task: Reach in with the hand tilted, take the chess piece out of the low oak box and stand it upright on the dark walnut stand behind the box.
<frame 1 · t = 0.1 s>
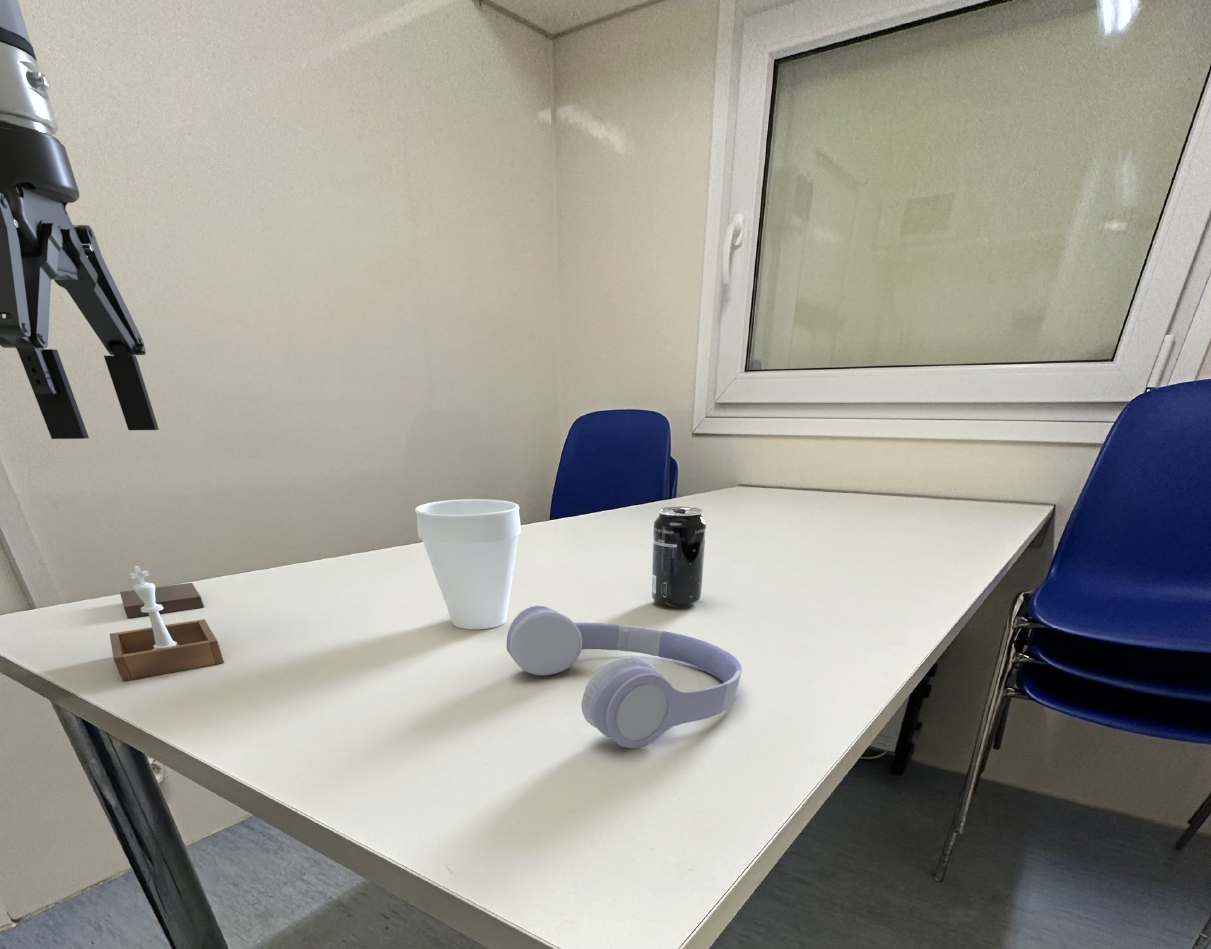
hand: (110, 434, 65), 22 cm above the table, tool pointing down, fingers open, 13 cm apart
headphones: (636, 692, 67), on the table
oak box: (170, 658, 75), on the table
cup: (479, 622, 86), on the table
beverage can: (675, 604, 93), on the table
walnut stand: (163, 604, 93), on the table
chess piece: (171, 660, 75), resting in oak box
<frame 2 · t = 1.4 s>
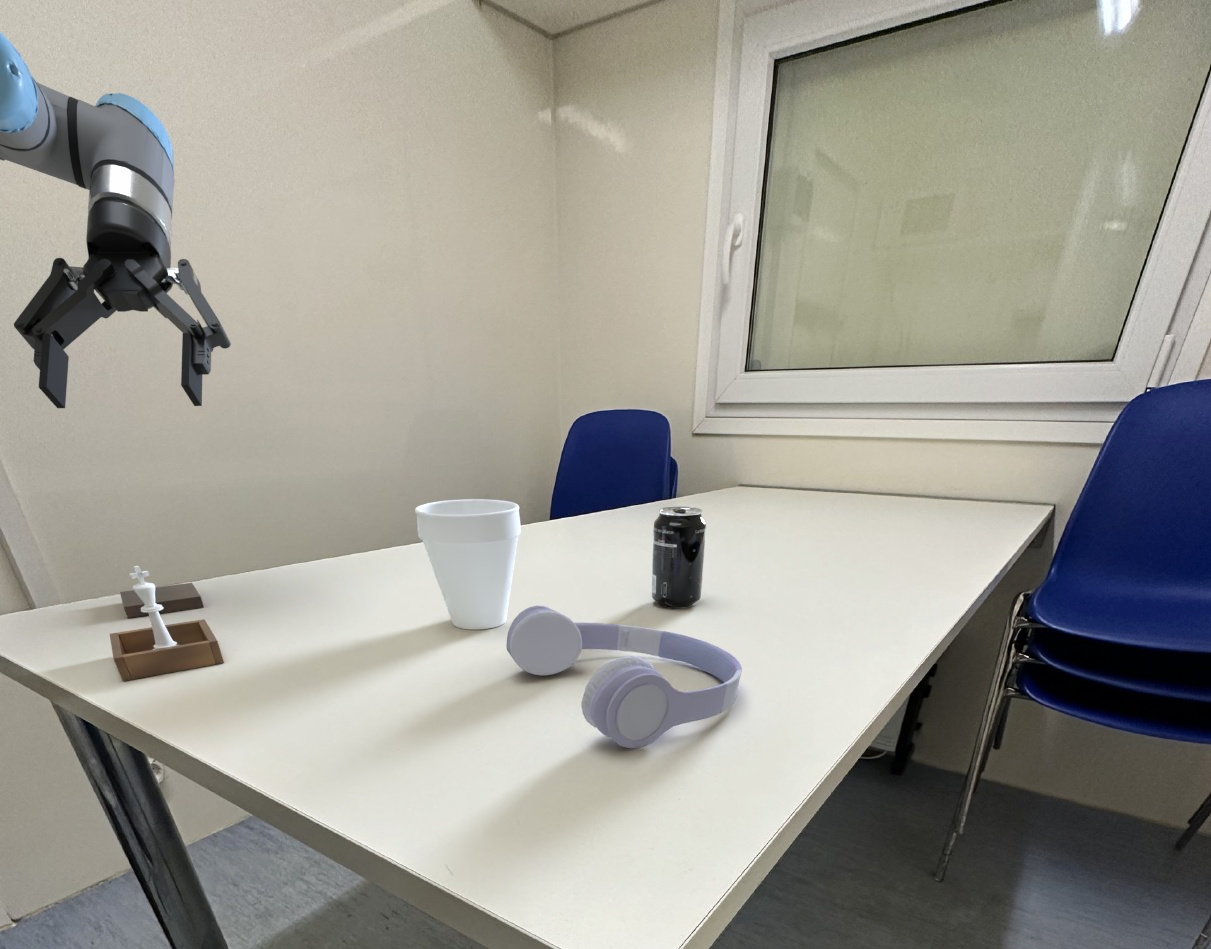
hand: (122, 397, 70), 25 cm above the table, tool tilted 45°, fingers open, 13 cm apart
nothing on the table moved.
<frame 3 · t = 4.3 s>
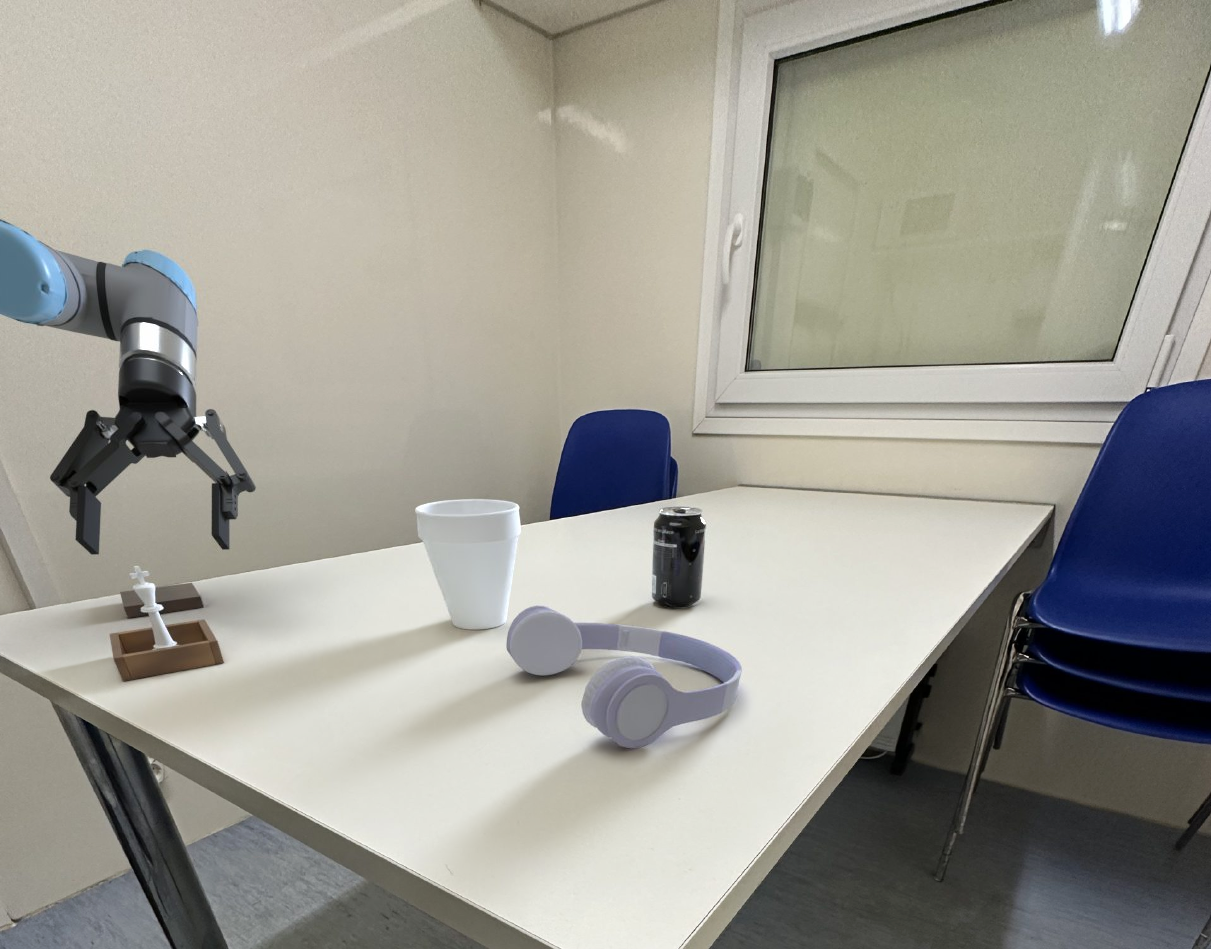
hand: (154, 545, 74), 11 cm above the table, tool tilted 45°, fingers open, 13 cm apart
nothing on the table moved.
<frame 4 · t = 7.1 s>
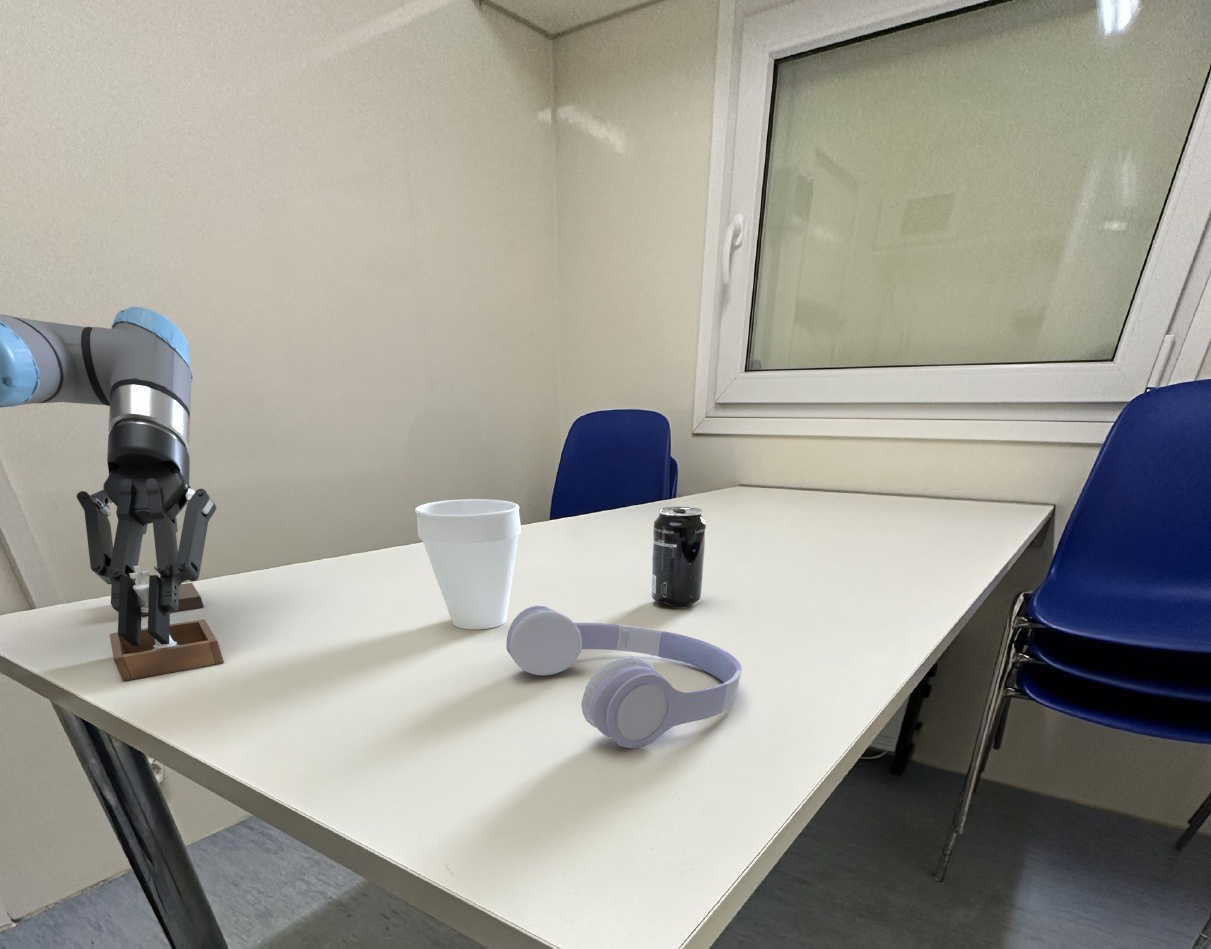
hand: (144, 638, 70), 4 cm above the table, tool tilted 45°, fingers closed on chess piece, 2 cm apart
chess piece: (171, 660, 75), resting in oak box, touching gripper
everything else where it was.
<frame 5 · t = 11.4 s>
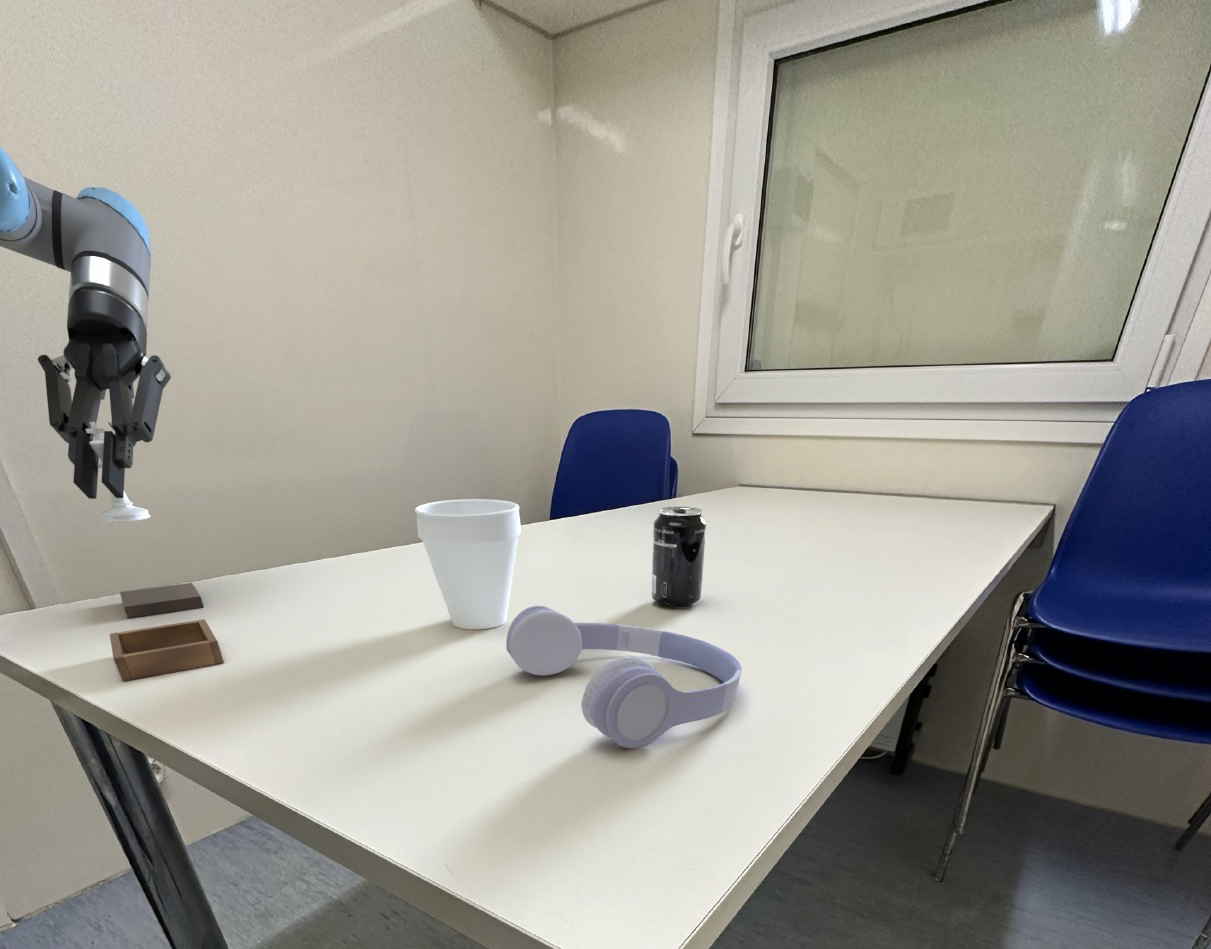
hand: (98, 489, 75), 16 cm above the table, tool tilted 45°, fingers closed on chess piece, 2 cm apart
chess piece: (127, 520, 80), point 12 cm above the table, touching gripper
everything else where it was.
when the fingers open (5 cm above the table, at t = 15.6 s): chess piece stays where it is, resting on walnut stand.
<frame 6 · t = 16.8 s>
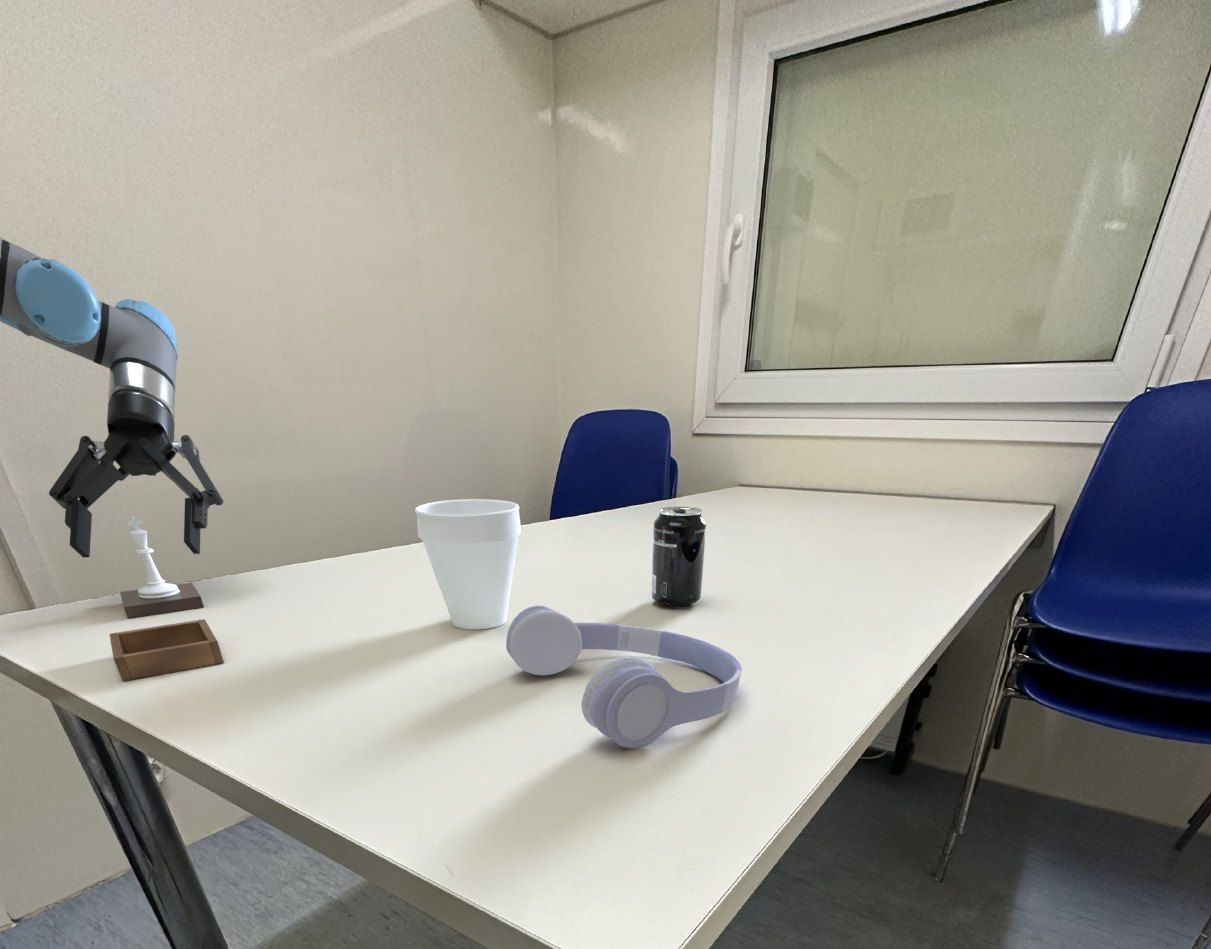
hand: (136, 549, 87), 8 cm above the table, tool tilted 45°, fingers open, 13 cm apart
chess piece: (160, 595, 92), point 1 cm above the table, touching walnut stand
everything else where it was.
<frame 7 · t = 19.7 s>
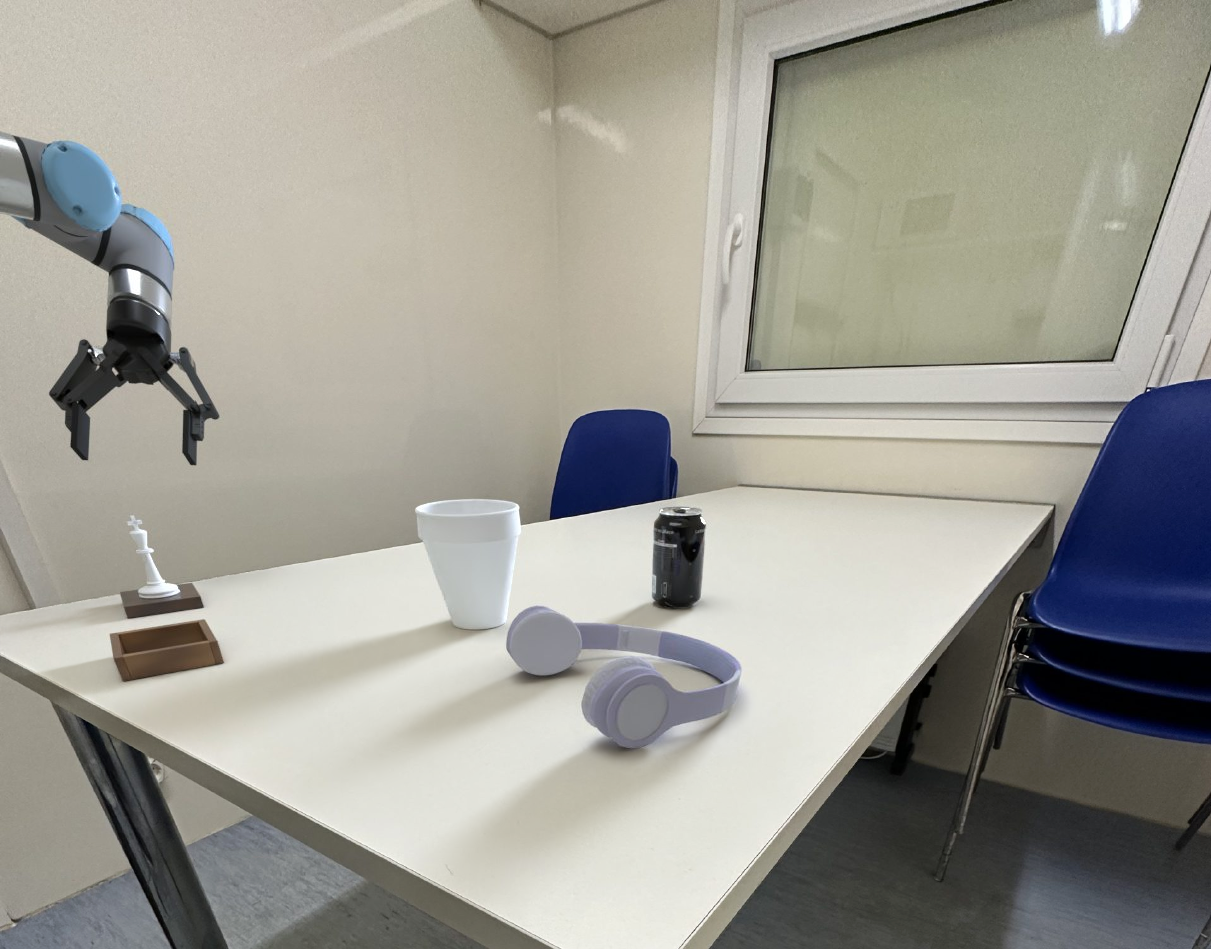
hand: (135, 456, 92), 18 cm above the table, tool tilted 40°, fingers open, 13 cm apart
nothing on the table moved.
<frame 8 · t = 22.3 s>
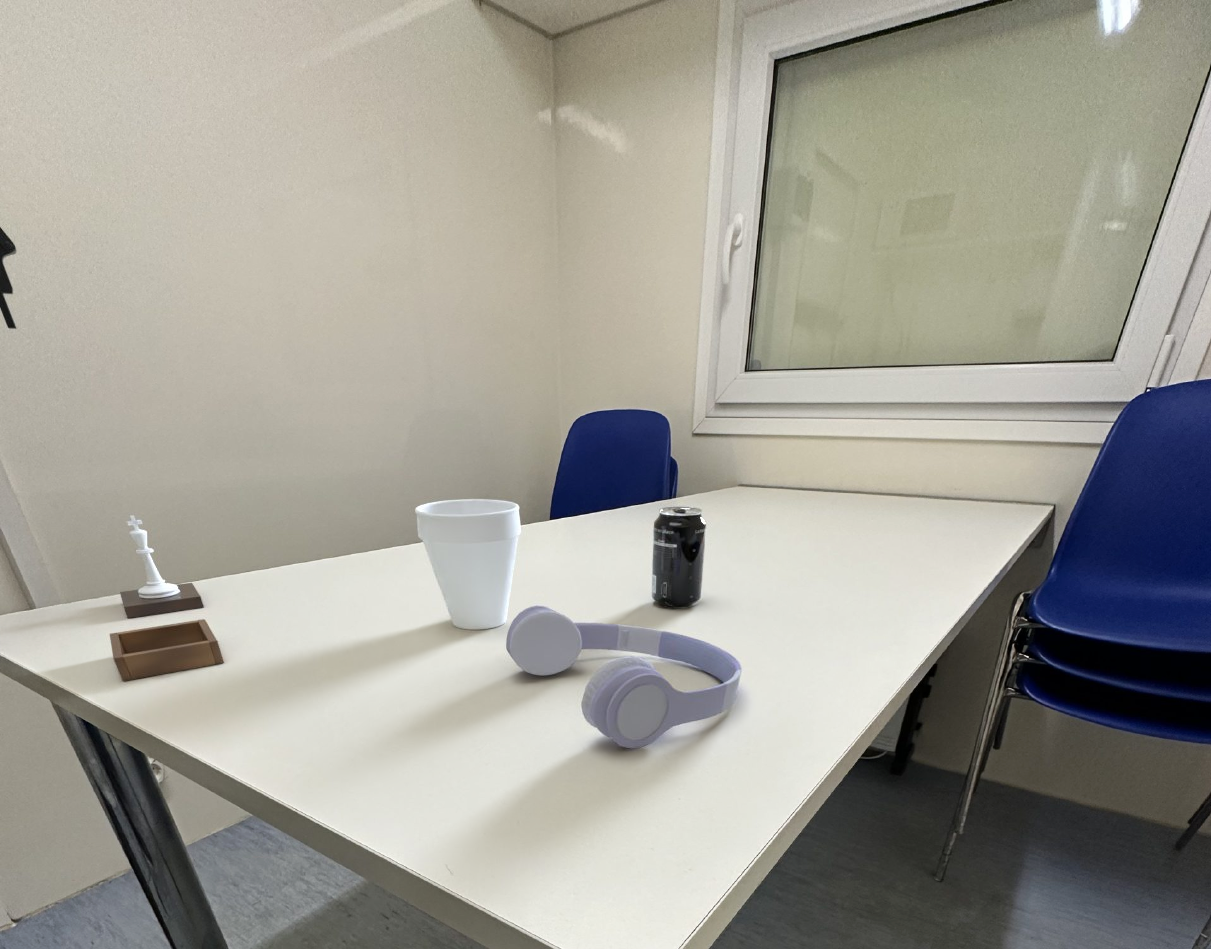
nothing on the table moved.
at the end: chess piece 0.0 cm off-centre on the walnut stand, point 1.3 cm above the walnut stand's base; chess piece tilted 0°; the gripper is holding nothing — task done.
